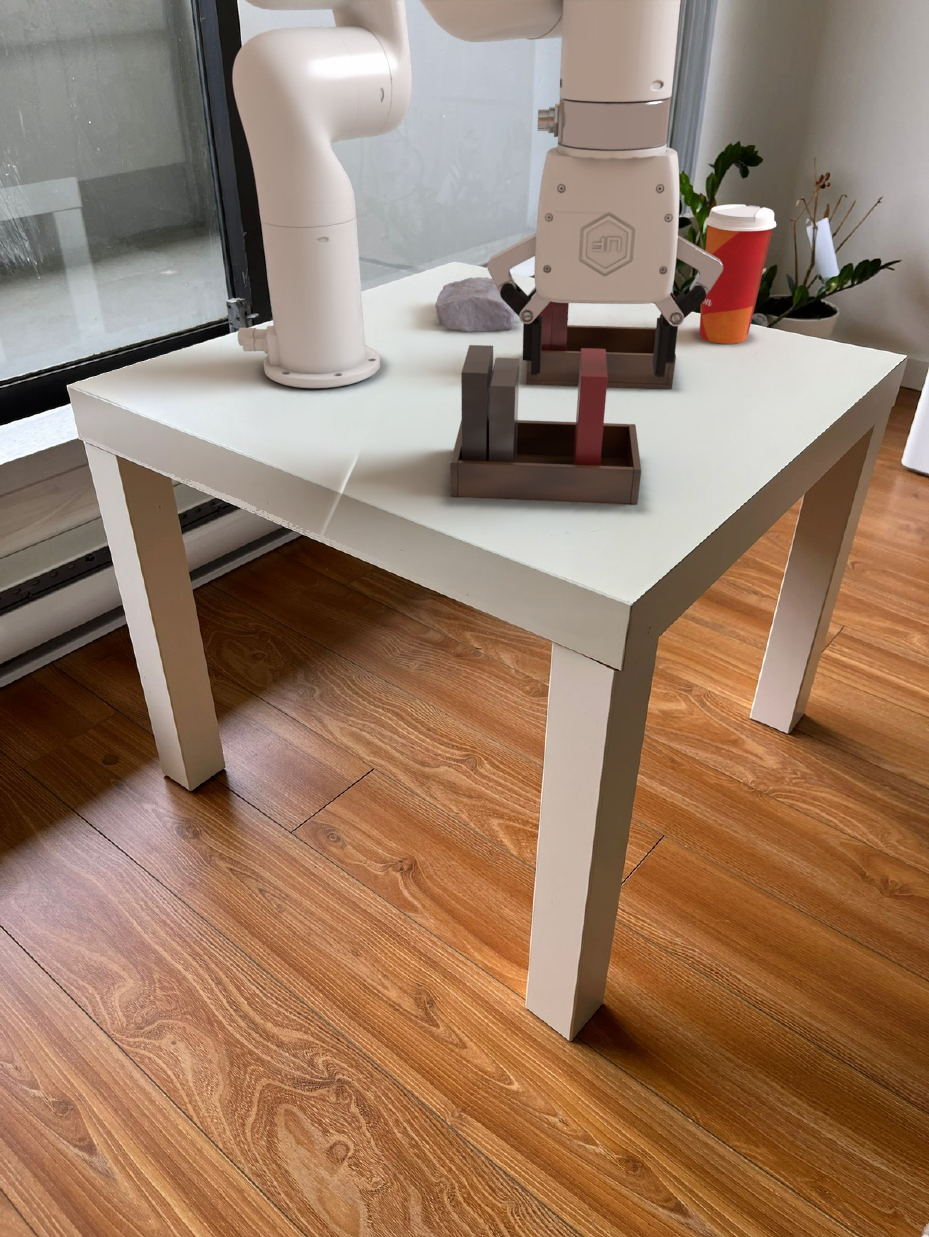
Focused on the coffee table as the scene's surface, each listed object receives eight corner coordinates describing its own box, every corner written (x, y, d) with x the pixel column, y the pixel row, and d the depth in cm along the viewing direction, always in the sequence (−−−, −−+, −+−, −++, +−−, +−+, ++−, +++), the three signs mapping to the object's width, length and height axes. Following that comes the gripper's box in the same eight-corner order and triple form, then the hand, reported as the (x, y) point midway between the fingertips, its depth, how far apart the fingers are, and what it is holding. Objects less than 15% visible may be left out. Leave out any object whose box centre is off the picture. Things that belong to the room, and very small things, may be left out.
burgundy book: (573, 493, 77) (581, 376, 71) (573, 460, 82) (581, 348, 77) (597, 494, 77) (607, 377, 71) (596, 460, 82) (605, 348, 76)
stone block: (439, 346, 114) (520, 329, 113) (430, 306, 111) (513, 289, 110) (444, 319, 124) (518, 304, 123) (436, 282, 121) (512, 266, 120)
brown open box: (525, 384, 99) (529, 282, 93) (529, 354, 106) (533, 258, 100) (671, 389, 97) (685, 286, 91) (665, 358, 105) (676, 261, 99)
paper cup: (708, 322, 116) (726, 200, 108) (767, 334, 112) (790, 209, 104) (677, 338, 111) (693, 212, 103) (737, 352, 107) (759, 221, 99)
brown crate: (450, 501, 77) (448, 378, 71) (461, 454, 85) (461, 339, 79) (637, 509, 76) (651, 385, 70) (631, 460, 83) (644, 344, 77)
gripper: (483, 136, 62) (483, 385, 72) (749, 135, 61) (713, 390, 70) (491, 122, 68) (491, 353, 78) (733, 121, 67) (702, 357, 76)
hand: (596, 370), depth 74 cm, fingers open, 9 cm apart
